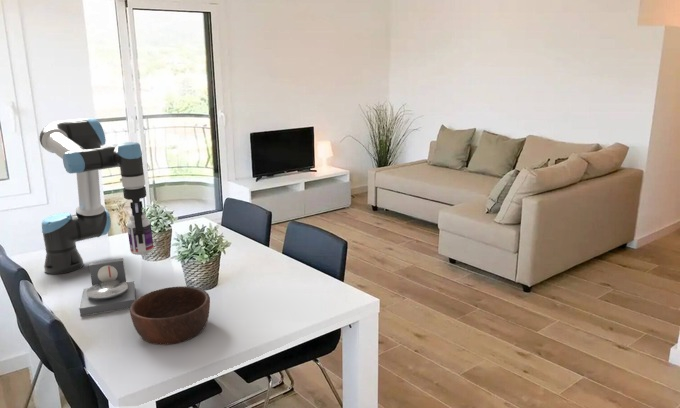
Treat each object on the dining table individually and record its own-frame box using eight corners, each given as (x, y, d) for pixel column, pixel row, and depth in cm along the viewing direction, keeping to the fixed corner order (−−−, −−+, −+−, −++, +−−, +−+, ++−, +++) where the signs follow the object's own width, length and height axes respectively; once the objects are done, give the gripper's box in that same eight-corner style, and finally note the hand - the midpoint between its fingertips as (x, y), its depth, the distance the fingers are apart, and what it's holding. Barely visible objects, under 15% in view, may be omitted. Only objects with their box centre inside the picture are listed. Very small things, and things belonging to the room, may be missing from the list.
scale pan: (89, 289, 203) (88, 284, 202) (128, 283, 207) (127, 278, 207) (85, 304, 190) (85, 298, 189) (128, 297, 194) (127, 292, 194)
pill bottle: (158, 249, 198) (154, 211, 194) (144, 256, 191) (139, 218, 187) (140, 247, 201) (135, 210, 197) (125, 254, 193) (120, 216, 189)
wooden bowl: (218, 311, 189) (216, 284, 187) (203, 348, 165) (200, 318, 163) (147, 313, 189) (144, 287, 186) (121, 351, 165) (117, 321, 162)
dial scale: (85, 292, 207) (80, 263, 204) (135, 285, 213) (131, 257, 210) (80, 316, 188) (75, 284, 185) (135, 307, 194) (130, 276, 191)
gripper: (122, 181, 197) (130, 239, 203) (122, 194, 178) (131, 258, 185) (144, 179, 200) (151, 237, 206) (146, 192, 181) (154, 255, 187)
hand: (141, 247), depth 195 cm, fingers closed on pill bottle, 8 cm apart
